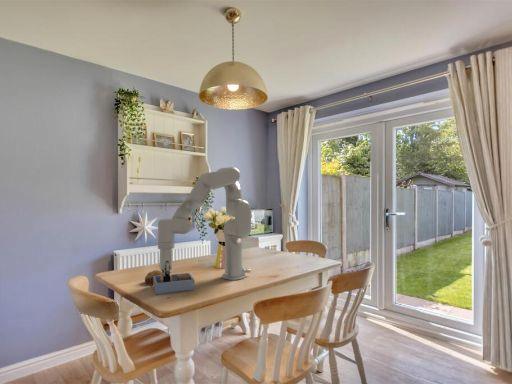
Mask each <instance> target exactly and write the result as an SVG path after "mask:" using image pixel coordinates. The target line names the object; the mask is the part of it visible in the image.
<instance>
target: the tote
mask: <svg viewBox="0 0 512 384" xmlns="http://www.w3.org/2000/svg"><path fill="white" fill-rule="evenodd" d="M181 274H188V276H189V280H182V281H177V275H181ZM195 285H196V284H195V278H194V277H193V276H192V274H191V273H190V272H184V273H183V272H182V273H172V282H163V283H161V275H159V276H153V285H152V287H153V291H154V294H155V296H158V295H166V294H174V293H184V292H191V291H195Z"/></svg>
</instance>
